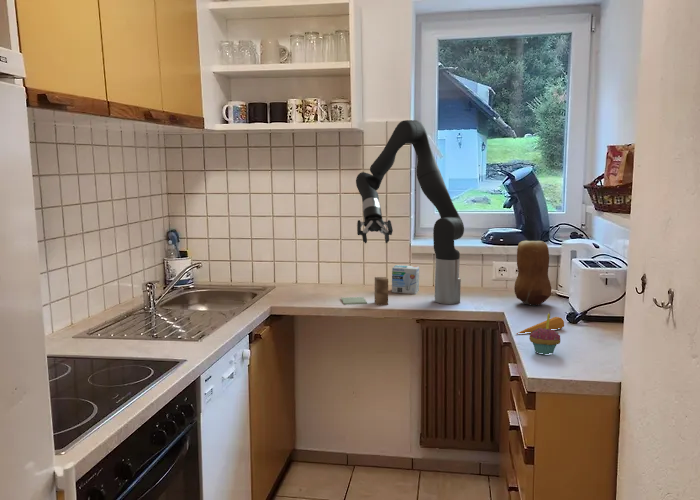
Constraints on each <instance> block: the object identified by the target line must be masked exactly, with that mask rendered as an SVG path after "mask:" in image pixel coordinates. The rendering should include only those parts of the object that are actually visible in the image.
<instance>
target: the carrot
mask: <svg viewBox="0 0 700 500" xmlns="http://www.w3.org/2000/svg"><path fill="white" fill-rule="evenodd" d="M546 324H547V319H546V320H544V321H541V322H539V323H537V324H534V325H532V326H530V327H527V328H525V329H523V330H521V331H519V332H517V333H516V334H518V333H525V332H533V331H534V330H536V329H538V328H544V329H545V328H546ZM562 327H563V328H564V327H565V321H564V319H563V318H562V317H561V316H560V317H559V316H553V317H552V318H551V317H550V319H549V328H548V329H558V328H562ZM563 328H562V329H563Z"/></svg>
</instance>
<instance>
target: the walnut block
mask: <svg viewBox="0 0 700 500" xmlns="http://www.w3.org/2000/svg"><path fill="white" fill-rule="evenodd" d="M374 304H375V305H376V306H388V305H389V278H388V277H386V276H377V277H376V276H375V277H374Z"/></svg>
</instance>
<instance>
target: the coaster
mask: <svg viewBox="0 0 700 500" xmlns="http://www.w3.org/2000/svg"><path fill="white" fill-rule="evenodd" d="M340 300H341V301H342V303H343V305H362V304H363V305H367V304H368V301H367V300H366V299H365V297H364V296H355V297H354V296H353V297H341V299H340Z"/></svg>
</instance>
